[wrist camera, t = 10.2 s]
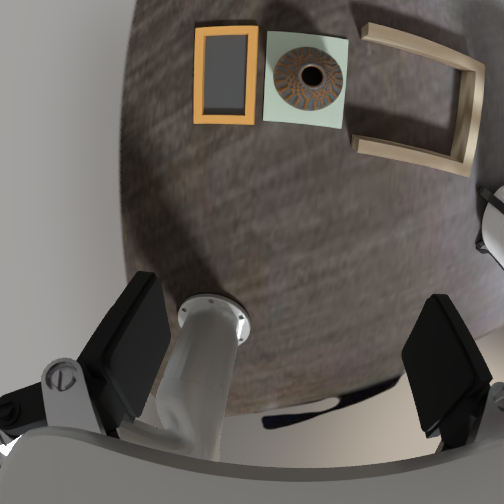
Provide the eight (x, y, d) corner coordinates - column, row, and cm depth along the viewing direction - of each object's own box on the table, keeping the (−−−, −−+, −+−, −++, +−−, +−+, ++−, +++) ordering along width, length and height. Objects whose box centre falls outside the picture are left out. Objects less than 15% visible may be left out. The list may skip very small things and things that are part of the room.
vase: (347, 93, 28) (367, 95, 20) (294, 118, 30) (297, 128, 23) (316, 42, 25) (326, 26, 18) (262, 68, 27) (254, 61, 20)
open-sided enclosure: (456, 168, 30) (469, 177, 27) (350, 146, 31) (357, 152, 28) (470, 64, 22) (485, 64, 19) (360, 28, 23) (368, 22, 20)
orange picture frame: (254, 123, 31) (253, 124, 31) (196, 122, 32) (193, 123, 31) (258, 27, 25) (258, 25, 24) (198, 29, 26) (195, 28, 25)
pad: (340, 128, 30) (341, 128, 30) (263, 120, 31) (263, 120, 31) (347, 40, 24) (348, 39, 24) (267, 31, 25) (267, 31, 25)
